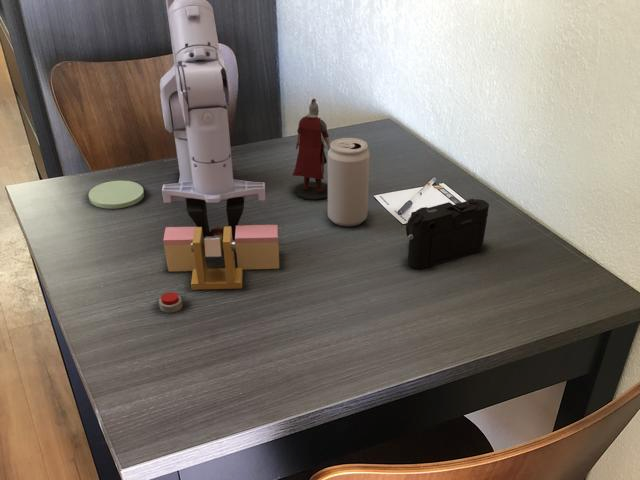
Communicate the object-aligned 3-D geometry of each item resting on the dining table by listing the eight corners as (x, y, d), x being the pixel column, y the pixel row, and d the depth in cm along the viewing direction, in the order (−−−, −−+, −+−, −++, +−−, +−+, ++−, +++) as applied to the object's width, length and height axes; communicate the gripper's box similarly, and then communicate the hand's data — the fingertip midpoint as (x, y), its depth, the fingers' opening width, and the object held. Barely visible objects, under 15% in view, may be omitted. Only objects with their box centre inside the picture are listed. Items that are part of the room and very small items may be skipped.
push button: (167, 315, 97) (166, 305, 96) (155, 305, 99) (153, 296, 98) (186, 307, 99) (185, 297, 98) (174, 297, 100) (172, 288, 99)
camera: (461, 230, 115) (468, 181, 110) (490, 250, 111) (499, 199, 105) (386, 252, 110) (389, 201, 104) (413, 273, 106) (418, 222, 100)
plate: (94, 185, 125) (93, 180, 125) (147, 184, 126) (146, 179, 125) (85, 209, 119) (83, 204, 118) (141, 208, 119) (140, 203, 119)
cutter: (210, 245, 111) (209, 225, 110) (230, 245, 111) (229, 224, 110) (202, 259, 99) (200, 236, 98) (224, 258, 99) (223, 236, 98)
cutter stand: (193, 274, 105) (187, 227, 100) (242, 272, 105) (238, 225, 100) (191, 290, 102) (184, 242, 97) (242, 289, 102) (237, 241, 97)
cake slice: (170, 258, 108) (165, 227, 104) (200, 257, 108) (196, 226, 105) (168, 271, 105) (163, 240, 102) (199, 271, 105) (194, 239, 102)
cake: (238, 256, 109) (235, 225, 105) (278, 255, 109) (277, 224, 105) (238, 269, 106) (235, 238, 102) (279, 268, 106) (277, 237, 103)
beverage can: (363, 230, 115) (366, 154, 106) (323, 226, 116) (323, 150, 107) (370, 212, 119) (373, 138, 111) (331, 208, 120) (332, 134, 112)
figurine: (339, 187, 126) (340, 95, 116) (323, 204, 121) (323, 110, 111) (303, 180, 128) (302, 89, 117) (286, 197, 123) (283, 104, 112)
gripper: (154, 168, 98) (169, 259, 107) (262, 165, 98) (268, 257, 108) (159, 147, 103) (173, 236, 112) (262, 145, 104) (268, 234, 113)
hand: (220, 245), depth 110 cm, fingers closed on cutter, 3 cm apart
